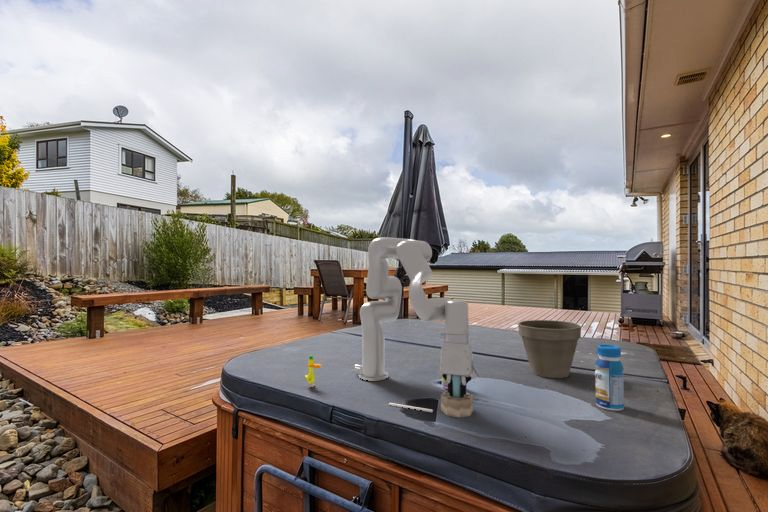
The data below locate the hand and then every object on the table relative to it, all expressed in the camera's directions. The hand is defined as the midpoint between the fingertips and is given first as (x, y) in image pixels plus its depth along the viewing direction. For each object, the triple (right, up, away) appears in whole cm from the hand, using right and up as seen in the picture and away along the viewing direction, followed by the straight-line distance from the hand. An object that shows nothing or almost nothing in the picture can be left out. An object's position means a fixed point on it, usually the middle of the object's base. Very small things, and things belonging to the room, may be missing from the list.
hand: (457, 395), depth 119 cm
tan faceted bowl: (0, -5, 0) cm, 5 cm away
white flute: (-15, -5, +2) cm, 16 cm away
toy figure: (-51, -6, +23) cm, 56 cm away
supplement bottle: (+2, -6, +23) cm, 24 cm away
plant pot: (+48, -7, +41) cm, 64 cm away
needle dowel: (0, -3, 0) cm, 3 cm away
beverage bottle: (+52, -6, +4) cm, 52 cm away
